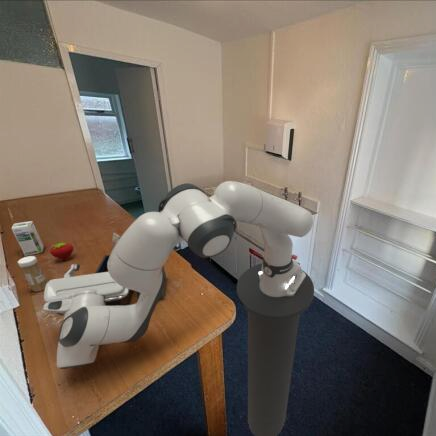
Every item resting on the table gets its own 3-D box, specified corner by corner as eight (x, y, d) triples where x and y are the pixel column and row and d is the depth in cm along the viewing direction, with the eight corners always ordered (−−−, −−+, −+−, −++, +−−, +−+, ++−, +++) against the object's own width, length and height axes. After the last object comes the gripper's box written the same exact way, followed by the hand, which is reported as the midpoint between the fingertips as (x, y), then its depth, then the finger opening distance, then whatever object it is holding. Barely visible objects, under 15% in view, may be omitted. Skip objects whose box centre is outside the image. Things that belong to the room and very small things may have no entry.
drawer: (124, 316, 81) (119, 300, 77) (82, 325, 76) (75, 307, 73) (140, 265, 105) (136, 251, 102) (109, 270, 101) (104, 255, 98)
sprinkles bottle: (49, 288, 89) (36, 259, 84) (32, 293, 86) (17, 264, 80) (48, 282, 92) (35, 254, 86) (31, 287, 89) (16, 258, 83)
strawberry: (78, 259, 106) (71, 240, 101) (55, 266, 101) (46, 246, 96) (75, 253, 109) (68, 235, 105) (53, 259, 104) (45, 240, 100)
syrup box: (24, 256, 104) (10, 228, 98) (27, 250, 109) (14, 222, 102) (42, 253, 108) (29, 225, 101) (44, 247, 112) (32, 220, 106)
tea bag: (122, 248, 116) (118, 230, 112) (129, 253, 113) (124, 235, 108) (114, 251, 113) (109, 233, 109) (120, 256, 110) (115, 238, 105)
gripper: (124, 295, 69) (128, 253, 76) (34, 310, 62) (48, 263, 69) (131, 300, 74) (134, 261, 81) (48, 315, 67) (59, 271, 74)
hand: (94, 262), depth 75 cm, fingers open, 8 cm apart
